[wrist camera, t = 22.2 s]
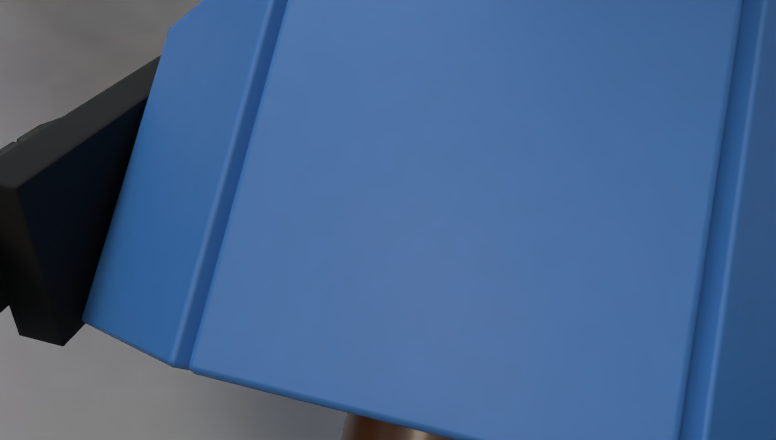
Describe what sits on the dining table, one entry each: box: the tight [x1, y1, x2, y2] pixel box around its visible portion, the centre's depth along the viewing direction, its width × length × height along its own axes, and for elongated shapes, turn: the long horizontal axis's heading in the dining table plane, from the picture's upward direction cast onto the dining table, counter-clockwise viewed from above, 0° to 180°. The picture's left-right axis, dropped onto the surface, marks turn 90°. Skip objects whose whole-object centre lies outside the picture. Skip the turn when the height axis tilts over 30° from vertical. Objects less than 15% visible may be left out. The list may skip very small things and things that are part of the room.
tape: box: [82, 0, 776, 440], centre depth 12 cm, size 5×11×11 cm, turn 77°
